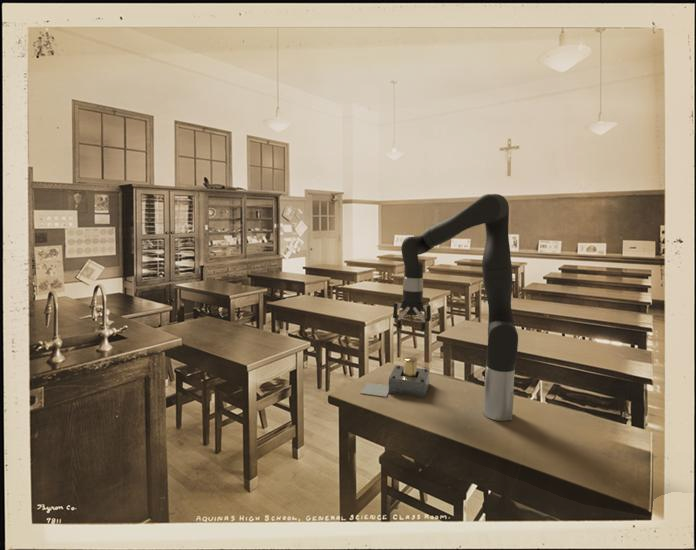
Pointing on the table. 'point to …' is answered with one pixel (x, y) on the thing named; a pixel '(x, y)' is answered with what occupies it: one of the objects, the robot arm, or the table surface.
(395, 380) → the grey square socket block
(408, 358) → the brass cylindrical shaft
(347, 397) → the table surface
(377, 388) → the rubber mat
